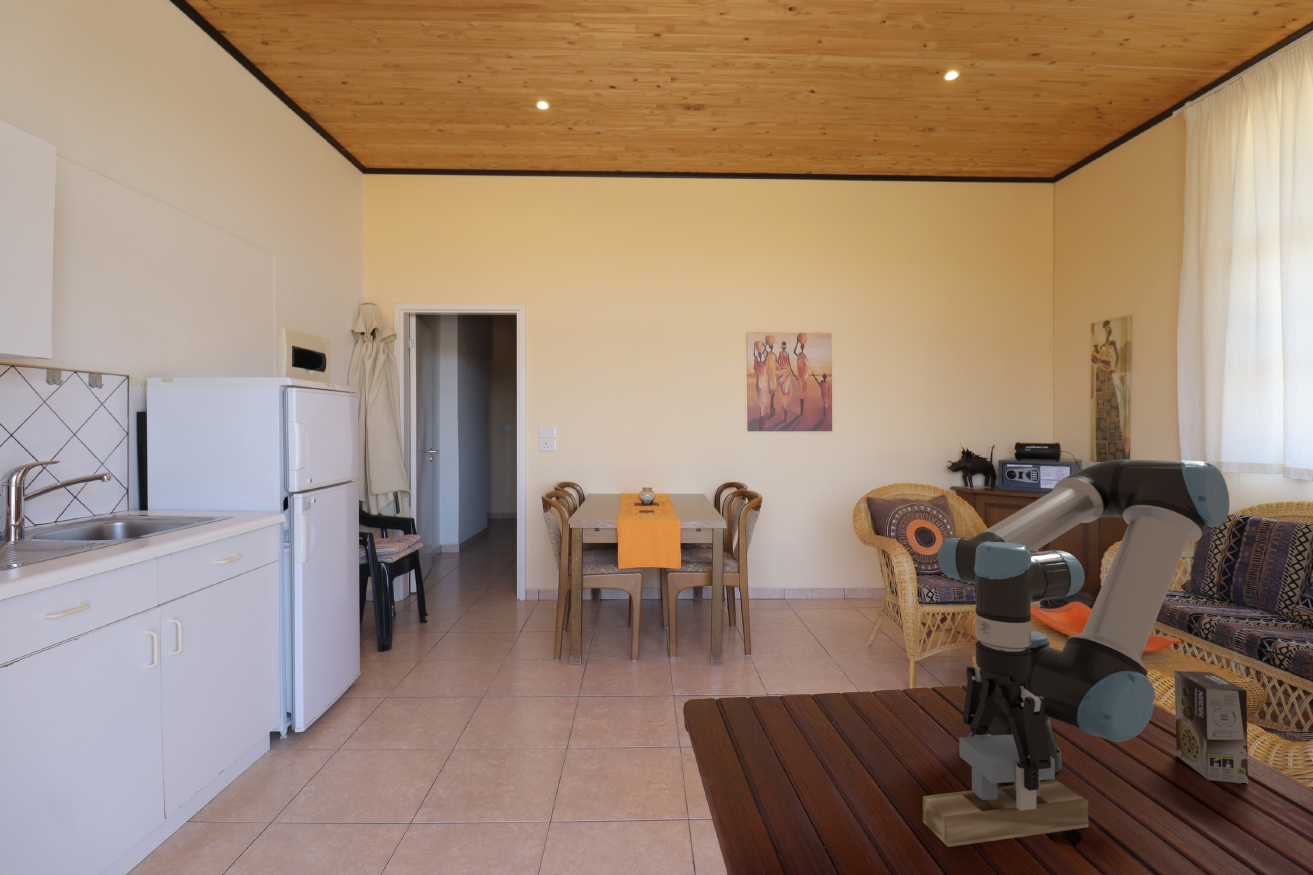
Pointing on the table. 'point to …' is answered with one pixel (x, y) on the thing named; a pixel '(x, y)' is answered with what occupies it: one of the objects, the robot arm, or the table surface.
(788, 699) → the table surface
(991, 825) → the rail
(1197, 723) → the coffee box
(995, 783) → the grey plastic block
